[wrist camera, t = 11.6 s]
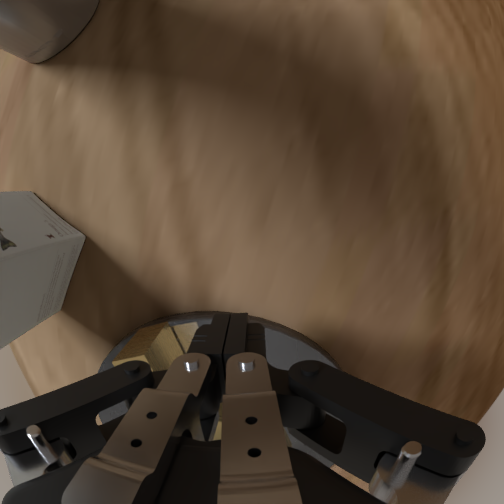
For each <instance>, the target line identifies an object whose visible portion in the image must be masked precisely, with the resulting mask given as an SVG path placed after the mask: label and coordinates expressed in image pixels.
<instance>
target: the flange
mask: <svg viewBox="0 0 504 504" xmlns="http://www.w3.org/2000/svg"><path fill="white" fill-rule="evenodd" d="M227 313H230V312H220V311H195V312H188V313H180V314H174V315H170V316H166V317H162V318H159V319H156V320H153V321H151V322H149V323H146V324H144V325H142V326H140V327H138V328H137V329H135V330H134V331H132V332H130V333H129V334H128V335H127V336H126V337H124V338H123V339H122V340H121V341H120V342H119V343H118V344H117V345H116V346H115V347H114V348H113V350H112V351H111V352H110V353H109V354H108V356H107V357H106V358H105V360H104V361H103V363H102V365H101V367H100V369H99V371H98V373H100V372H103V371H105V370H108V369H110V368H112V367H114V365H113V364H112V361H113V360H114V358H115V357H116V356H117V355H118V354H119V352H120V351H121V350H122V349H123V348H124V346H125V345H126V344H127V343H128V342H129V341H130V339H131V338H132V337H133V336H134V335H135V334H136V332H137V331H138V330H139V329H142V328H145V327H149V326H153V325H156V324H160V323H163V322H167V321H168V323H169V325H170V327H171V329H172V331H173V333H174V336H175V338H176V340H177V342H178V344H179V346H180V348H181V350H182V352H183V354H186V353H187V351H188V348H189V346H190V344H191V341H192V339H193V337H194V334H195V332H196V330H197V329H198V328H199V327H200V326H202V325H203V324H211V322H212V319H213V316H214V314H227ZM230 314H232V313H230ZM248 322H249V323H260V324H261V325H262V326H263V327H264V328H265V343H266V359H267V362H268V363H269V364H270V365H271V366H273V367H275V368H278V369H282V370H289V368H290V367H291V366H292V365H293V364H295V363H297V362H300V361H304V360H317V361H321V362H323V363H325V364H328V365H330V366H332V367H334V368H336V369H338V370H341V368H340V367H339V365H338V364H337V363H336V362H335V360H334V359H333V358H332V357H331V356H330V355H329V354H328V353H327V352H326V351H325V350H324V349H322V348H321V347H320V346H319V345H317V344H316V343H315V342H313V341H312V340H310V339H309V338H307V337H305V336H304V335H302V334H300V333H299V332H297V331H294V330H292V329H290V328H288V327H285V326H283V325H281V324H278V323H275V322H272V321H269V320H266V319H263V318H259V317H254V316H249V315H248ZM341 371H342V370H341ZM127 412H128V409H127V407H126V404H125V401H122V402H120V403H118V404H116V405H114V406H112V407H110V408H107V409H105V410H103V411H101V412H99V413H98V414H99V417H100V419H101V421H102V424H104V423H107V422H109V421H111V420H113V419H115V418H117V417H119V416H121V415H123V414H125V413H127ZM326 413H327V414H329V415H330V416H332V417H334V418H336V419H338V420H339V421H341V422H343V421H342V420H340V419H339V418H337V417H335V416H333V415H332V414H330V413H328V412H326ZM284 428H285V430H286V432H287V435H288V437H289V439H290V441H291V443H292V448H295V449H298V450H301V451H303V452H305V453H307V454H309V455H311V456H313V457H314V458H316V459H317V460H318V461H320V462H321V463H323V464H324V465H326V466H327V467H328V468H330V467H331V466H332V465H333V464H334V463H332V462H331V461H329V460H328V459H326V458H324V457H323V456H321V455H320V454H318V453H317V452H315V451H314V450H312V449H311V448H309V447H308V446H306V445H305V444H303V443H302V442H300V441H299V440H297V439H296V438H294V437H293V436H292V435H291V434H290V433H289V432H288V429H287V427H284ZM213 441H214V440H213Z"/></svg>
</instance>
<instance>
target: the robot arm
mask: <svg viewBox="0 0 504 504" xmlns="http://www.w3.org/2000/svg"><path fill="white" fill-rule="evenodd" d="M98 2H99V0H0V49H3V50H4V51H7V52H9V53H11V54H13V55H15V56H17V57H19V58H21V59H24V60H26V61H28V62H30V63H39V62H42V61H45V60H47V59H49V58H51V57H52V56H54V55H56V54H57V53H58V52H59V51H61V50H62V49H64V48H65V47H66V46H67V45H68V44H69V43H70V42H71V41H72V40H73V39H74V38H75V37H76V36H77V35H78V34H79V33H80V32H81V31H82V29H83V28H84V27H85V26H86V24H87V23H88V22H89V20H90V19H91V17H92V16H93V14H94V12H95V10H96V8H97V5H98ZM122 401H125V404H126V407H127V409H128V412H127V413H125V414H123V415H121V416H119V417H117V418H115V419H113V420H111V421H109V422H107V423H104V424H102V425H97V423H96V416H97V414H98V413H99V412H101V411H103V410H105V409H107V408H110V407H112V406H114V405H116V404H118V403H120V402H122ZM220 403H222V428H221V440H214V441H213V439H214V435H215V432H216V428H217V425H218V421H219V417H220V415H219V408H220ZM326 412H328V413H330V414H332V415H333V416H335V417H337V418H339V419H340V420H342V421H343V422H341V421H339V420H338V419H336V418H334V417H332V416H330V415H329V414H327V413H326ZM283 427H287V429H288V432H289V433H290V434H291V435H292V436H293V437H294V438H296V439H297V440H299V441H300V442H302V443H303V444H305V445H306V446H308V447H309V448H311V449H312V450H314V451H315V452H317V453H318V454H320V455H321V456H323V457H324V458H326V459H328V460H329V461H331V462H332V463H334V464H336V465H337V466H339V467H341V468H342V469H344V470H346V471H347V472H349V473H351V474H353V475H354V476H356V477H358V478H360V479H361V480H363V481H365V482H367V483H369V492H370V494H369V493H368V492H366V491H364V490H363V489H361V488H359V487H358V486H356V485H355V484H353V483H351V482H350V481H348V480H347V479H345V478H344V477H342V476H340V475H339V474H337V473H336V472H334V471H333V470H331V469H330V468H328V467H327V466H326V465H324V464H323V463H321V462H320V461H318V460H317V459H316V458H314V457H313V456H311V455H309V454H307V453H305V452H303V451H301V450H298V449H295V448H292V447H288V446H287V443H286V438H285V434H284V429H283ZM485 440H486V439H485V434H484V431H483V430H482V428H481V427H480V426H478V425H477V424H475V423H473V422H471V421H468V420H464V419H461V418H458V417H455V416H453V415H450V414H447V413H444V412H441V411H438V410H436V409H433V408H430V407H427V406H425V405H422V404H419V403H417V402H414V401H412V400H409V399H406V398H404V397H401V396H399V395H396V394H394V393H391V392H389V391H387V390H384V389H382V388H379V387H377V386H375V385H372V384H370V383H368V382H365V381H363V380H361V379H358V378H356V377H354V376H352V375H349V374H347V373H345V372H343V371H341V370H338V369H336V368H334V367H332V366H330V365H328V364H325V363H323V362H321V361H317V360H304V361H300V362H297V363H295V364H293V365H292V366H291V367H290V368H289V370H282V369H278V368H275V367H273V366H271V365H270V364H269V363H268V362H267V359H266V343H265V328H264V327H263V326H262V325H261V324H260V323H249V322H248V313H232V314H230V313H227V314H214V316H213V319H212V322H211V324H203V325H202V326H200V327H199V328H198V329H197V330H196V332H195V334H194V337H193V339H192V341H191V344H190V346H189V348H188V351H187V353H186V354H183V355H181V356H179V357H177V358H176V359H175V360H174V361H173V362H172V364H171V366H170V367H169V369H167V370H161V371H153V372H152V370H151V367H150V365H149V364H148V363H147V362H145V361H141V360H132V361H127V362H124V363H122V364H119V365H117V366H115V367H112V368H110V369H108V370H105V371H103V372H100V373H98V374H95V375H93V376H90V377H88V378H85V379H83V380H80V381H78V382H75V383H73V384H70V385H68V386H65V387H62V388H60V389H57V390H55V391H52V392H49V393H46V394H44V395H41V396H38V397H36V398H33V399H30V400H27V401H24V402H21V403H19V404H16V405H13V406H10V407H7V408H4V409H1V410H0V451H1V452H2V453H3V454H4V456H5V459H6V463H7V466H8V470H9V473H10V476H11V479H12V482H13V485H14V487H13V488H12V489H11V490H10V491H8V493H7V494H6V495H5V497H4V498H3V501H2V504H444V502H445V501H446V499H447V497H448V496H449V494H450V492H451V490H452V488H453V487H454V486H455V485H456V484H457V482H458V481H459V480H460V479H461V477H462V476H463V475H464V473H465V472H466V471H467V470H468V468H469V467H470V465H471V464H472V463H473V461H474V460H475V458H476V457H477V456H478V454H479V453H480V451H481V450H482V448H483V447H484V444H485Z"/></svg>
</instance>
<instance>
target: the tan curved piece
mask: <svg viewBox="0 0 504 504" xmlns="http://www.w3.org/2000/svg"><path fill="white" fill-rule="evenodd" d="M181 355H183V352H182V350H181V348H180V346H179V344H178V342H177V340H176V338H175V336H174V333H173V331H172V329H171V327H170V325H169V323H168V321H167V322H163V323H160V324H156V325H153V326H149V327H145V328H142V329H139V330H138V331H137V332H136V334H135V335H134V336H133V337H132V338H131V339H130V341H129V342H128V343H127V344H126V345H125V346H124V348H123V349H122V350H121V351H120V352H119V354H118V355H117V356H116V357H115V358H114V360H113V361H112V364H113V365H114V367H115V366H117V365H119V364H122V363H124V362H127V361H132V360H141V361H145V362H147V363H148V364H149V365H150V367H151V370H152V372H153V371H161V370H167V369H169V367H170V366H171V364H172V362H173V361H174V360H175V359H176V358H177V357H179V356H181ZM219 415H220V417H219V421H218V425H217V428H216V432H215V435H214V439H213V440H221V428H222V403H220V408H219ZM283 429H284V434H285V438H286V443H287V446H288V447H292V443H291V441H290V439H289V437H288V435H287V432H286V430H285V428H284V427H283Z"/></svg>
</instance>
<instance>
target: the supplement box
mask: <svg viewBox="0 0 504 504" xmlns="http://www.w3.org/2000/svg"><path fill="white" fill-rule="evenodd" d="M84 241H85V235H84V234H82V233H81V232H79V231H78V230H76V229H75V228H73V227H72V226H71V225H69V224H68V223H67V222H65V221H64V220H63V219H62V218H60V217H59V216H58V215H57V214H55V213H54V212H53V211H52V210H51V209H50V208H49V207H48V206H46V205H45V204H44V203H43V202H42V201H41V200H40V199H39V198H38V197H37V196H36V195H35V194H34V193H33V192H31V191H13V192H0V349H1V348H3V347H5V346H6V345H8V344H9V343H11V342H12V341H13V340H15V339H17V338H18V337H20V336H21V335H23V334H24V333H26V332H27V331H29V330H30V329H32V328H33V327H35V326H36V325H38V324H39V323H41V322H43V321H44V320H46V319H47V318H49V317H51V316H52V315H54V314H55V313H57V312H59V311H60V310H61V307H62V304H63V301H64V298H65V295H66V292H67V288H68V286H69V282H70V279H71V277H72V274H73V271H74V268H75V265H76V262H77V260H78V257H79V254H80V252H81V249H82V247H83V244H84Z"/></svg>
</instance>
